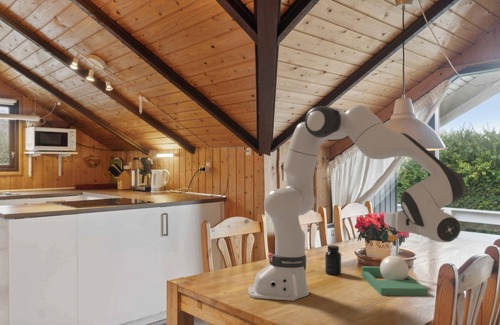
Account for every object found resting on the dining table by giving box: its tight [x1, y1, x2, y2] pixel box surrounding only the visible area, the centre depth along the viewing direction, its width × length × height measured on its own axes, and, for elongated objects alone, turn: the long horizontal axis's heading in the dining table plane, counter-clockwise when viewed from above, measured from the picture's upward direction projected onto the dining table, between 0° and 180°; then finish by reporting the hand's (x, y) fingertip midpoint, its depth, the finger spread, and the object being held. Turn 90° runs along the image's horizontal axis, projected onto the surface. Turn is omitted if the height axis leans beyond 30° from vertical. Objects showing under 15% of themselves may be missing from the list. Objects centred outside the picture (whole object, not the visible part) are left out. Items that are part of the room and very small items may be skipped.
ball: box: [380, 254, 410, 280], centre depth 165 cm, size 11×11×11 cm
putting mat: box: [360, 234, 428, 296], centre depth 163 cm, size 17×26×18 cm, turn 1°
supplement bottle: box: [324, 244, 342, 276], centre depth 178 cm, size 7×7×12 cm
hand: (407, 216), depth 143 cm, fingers closed
